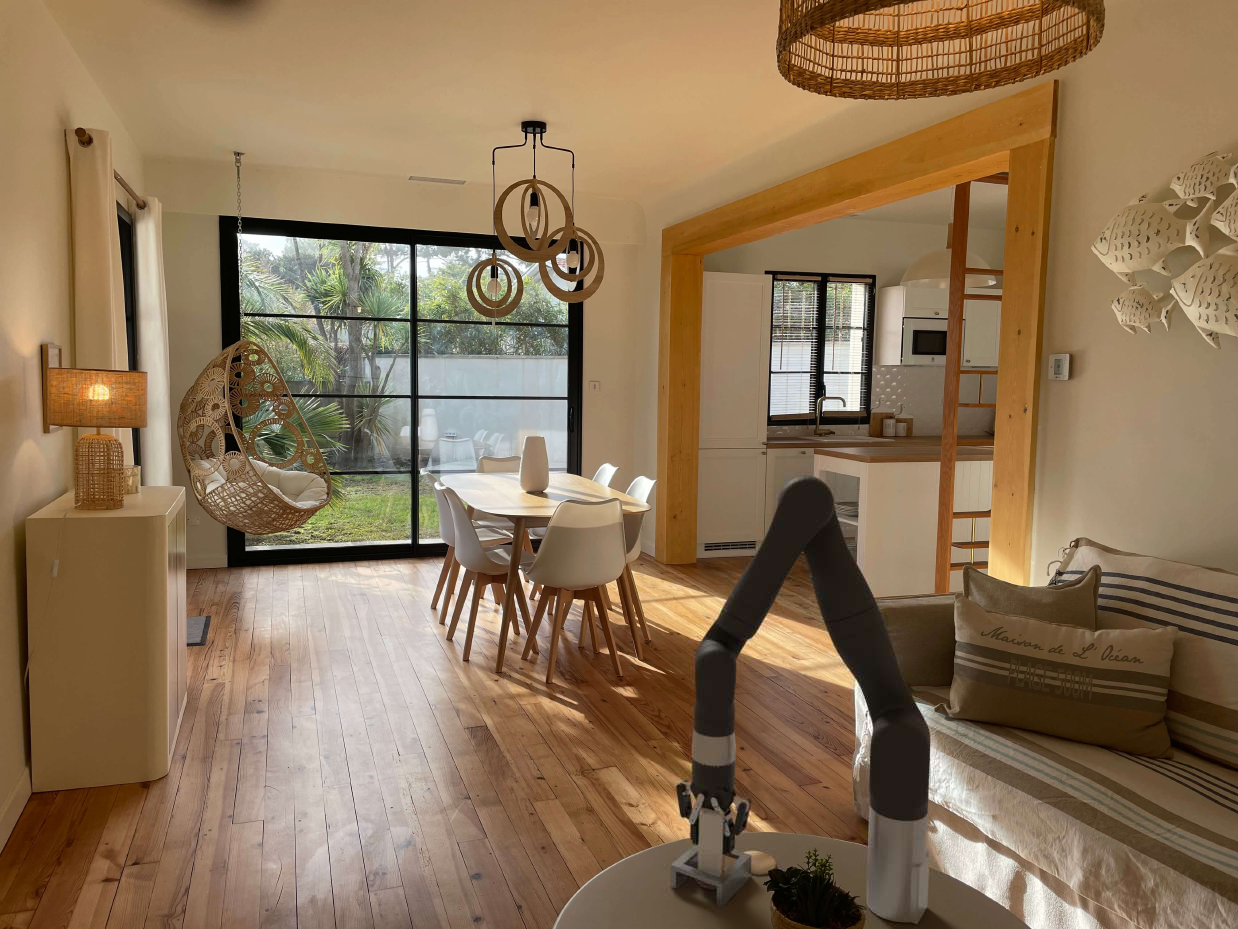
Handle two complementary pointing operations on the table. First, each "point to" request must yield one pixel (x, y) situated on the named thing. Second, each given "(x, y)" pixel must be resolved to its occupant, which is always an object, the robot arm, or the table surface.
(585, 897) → the table surface
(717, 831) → the skincare box
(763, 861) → the coaster
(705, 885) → the button
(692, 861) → the grey square frame
